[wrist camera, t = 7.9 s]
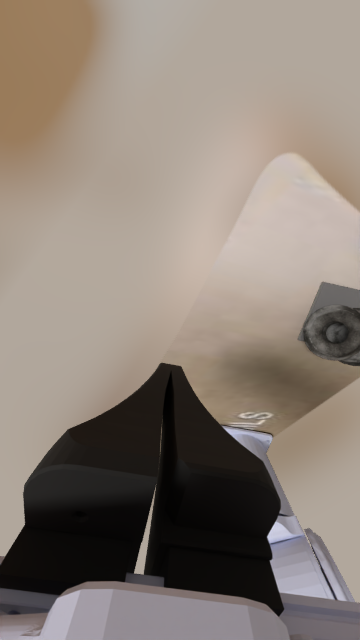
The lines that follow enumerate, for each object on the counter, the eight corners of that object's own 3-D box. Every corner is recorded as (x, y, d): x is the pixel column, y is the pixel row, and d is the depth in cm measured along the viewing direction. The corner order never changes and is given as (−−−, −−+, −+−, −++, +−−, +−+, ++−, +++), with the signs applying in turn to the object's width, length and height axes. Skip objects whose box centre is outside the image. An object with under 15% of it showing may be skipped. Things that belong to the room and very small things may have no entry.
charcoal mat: (350, 350, 21) (353, 351, 21) (297, 339, 21) (299, 340, 21) (380, 294, 19) (383, 295, 19) (321, 282, 19) (324, 282, 19)
